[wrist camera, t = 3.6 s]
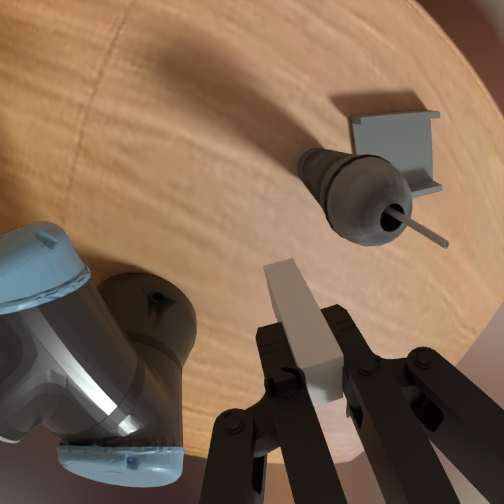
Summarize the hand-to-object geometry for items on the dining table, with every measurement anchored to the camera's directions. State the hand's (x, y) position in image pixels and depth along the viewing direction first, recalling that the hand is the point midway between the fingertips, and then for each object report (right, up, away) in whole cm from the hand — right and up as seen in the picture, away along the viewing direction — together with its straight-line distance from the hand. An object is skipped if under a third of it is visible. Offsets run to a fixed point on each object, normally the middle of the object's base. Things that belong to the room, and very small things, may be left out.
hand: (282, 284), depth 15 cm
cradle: (+16, +14, +17) cm, 28 cm away
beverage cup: (+6, +11, +17) cm, 21 cm away
